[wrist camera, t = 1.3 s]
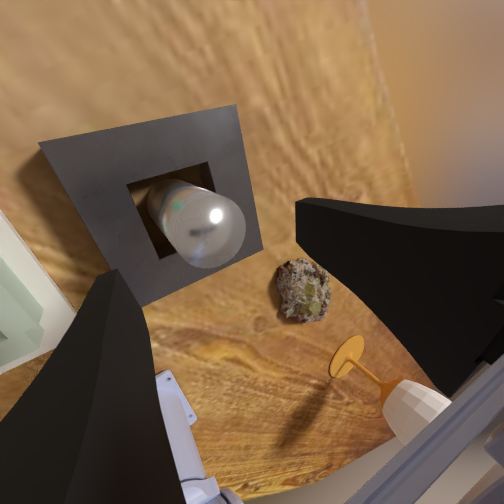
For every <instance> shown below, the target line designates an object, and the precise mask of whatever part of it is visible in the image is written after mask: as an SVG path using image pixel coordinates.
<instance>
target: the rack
mask: <svg viewBox="0 0 504 504" xmlns="http://www.w3.org/2000/svg"><path fill="white" fill-rule="evenodd" d="M76 314H77V312H76V311H75V309H74V308H73V307H72V305H71V304H70V303H69V301H68V300H67V299H66V297H65V296H64V295H63V293H62V292H61V290H60V289H59V288H58V286H57V285H56V284H55V282H54V281H53V280H52V278H51V277H50V276H49V274H48V273H47V272H46V270H45V269H44V268H43V266H42V265H41V263H40V262H39V261H38V259H37V258H36V257H35V255H34V254H33V253H32V251H31V250H30V249H29V247H28V246H27V245H26V243H25V242H24V241H23V239H22V238H21V236H20V235H19V234H18V232H17V231H16V230H15V228H14V227H13V226H12V224H11V223H10V222H9V220H8V219H7V218H6V216H5V215H4V214H3V212H2V211H1V209H0V374H2V373H4V372H6V371H8V370H10V369H13V368H15V367H17V366H19V365H21V364H23V363H25V362H27V361H29V360H31V359H34V358H36V357H38V356H40V355H42V354H44V353H46V352H48V351H50V350H53V349H55V348H56V347H57V345H58V344H59V342H60V341H61V339H62V337H63V336H64V334H65V333H66V331H67V330H68V328H69V326H70V325H71V323H72V321H73V320H74V318H75V316H76Z"/></svg>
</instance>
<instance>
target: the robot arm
mask: <svg viewBox="0 0 504 504" xmlns="http://www.w3.org/2000/svg"><path fill="white" fill-rule="evenodd" d="M295 215H296V242H297V243H298V245H299V246H300V247H301V248H302V249H303V250H304V251H305V252H306V253H307V254H308V256H309V257H311V258H312V259H313V260H314V261H315V262H316V263H318V264H319V265H320V266H321V267H323V268H324V269H325V270H326V271H328V272H329V273H330V274H331V275H333V276H334V277H335V278H336V279H338V280H339V281H340V282H341V283H343V284H344V285H345V286H346V287H347V288H349V289H350V290H351V291H352V292H353V293H354V294H355V295H357V296H358V297H359V298H360V299H361V300H362V301H363V302H364V303H365V304H366V305H367V306H368V307H369V308H370V309H371V310H372V311H373V312H374V314H375V315H376V316H377V317H378V318H379V319H380V320H381V321H382V322H383V323H384V324H385V325H386V326H387V327H388V329H389V330H390V331H391V332H392V333H393V334H394V335H395V337H396V338H397V339H398V340H399V341H400V342H401V344H402V345H403V346H404V347H405V348H406V349H407V350H408V352H409V353H410V354H411V356H412V357H413V358H414V359H415V361H416V362H417V363H418V364H419V366H420V367H421V368H422V369H423V371H424V372H425V373H426V374H427V376H428V377H429V378H430V380H431V381H432V383H433V384H434V385H435V386H436V387H437V388H438V389H439V390H440V391H441V392H442V393H444V394H445V395H446V396H447V397H449V398H450V397H452V396H453V395H454V394H455V393H456V392H457V391H458V390H459V389H460V388H461V387H462V386H463V385H464V384H466V382H468V381H469V380H470V379H471V378H472V377H473V376H474V375H475V374H476V373H478V372H479V371H480V370H481V369H482V368H483V367H484V366H485V365H486V364H487V363H489V364H490V365H491V366H490V367H489V368H488V369H487V370H486V371H485V372H484V373H483V374H482V375H481V376H480V377H478V378H477V379H476V380H475V381H474V382H473V383H472V384H471V385H470V386H469V387H468V388H467V389H466V390H465V391H464V392H463V393H461V394H460V395H459V396H458V397H457V398H456V399H455V400H454V401H453V402H452V403H451V404H450V405H449V406H448V407H446V408H445V409H444V410H443V411H442V412H441V413H440V414H439V415H438V416H437V417H436V418H435V419H434V420H433V421H432V422H430V423H429V424H428V425H427V426H426V427H425V428H424V429H423V430H422V431H421V432H420V433H419V434H418V435H417V436H416V437H414V438H413V439H412V440H411V441H410V442H409V443H408V444H407V445H406V446H405V447H404V448H403V449H402V450H401V451H400V452H398V454H396V455H395V456H394V457H393V458H392V459H391V460H390V461H389V462H388V463H387V464H386V465H385V466H384V467H383V468H381V470H379V471H378V472H377V473H376V474H375V475H374V476H373V477H372V478H371V479H370V480H369V481H368V482H367V483H366V484H364V485H363V486H362V487H361V488H360V489H359V490H358V491H357V492H356V493H355V494H354V495H353V496H352V497H350V498H349V499H348V500H347V501H346V502H345V503H344V504H414V503H415V502H416V501H417V500H418V499H419V498H420V497H421V496H422V495H423V494H424V493H425V492H426V490H427V489H428V488H429V487H430V486H431V485H432V484H433V483H434V482H435V481H436V480H437V479H438V478H439V477H440V475H441V474H442V473H443V472H444V471H445V470H446V469H447V468H448V467H449V466H450V465H451V464H452V463H453V461H454V460H455V459H456V458H457V457H458V456H459V455H460V454H461V453H462V452H463V451H464V450H465V449H466V447H468V445H469V444H470V443H471V442H472V441H473V440H474V439H475V438H476V437H477V436H478V435H479V434H480V433H481V432H482V431H483V429H484V428H485V427H486V426H487V425H488V424H489V423H490V422H491V421H492V420H493V419H494V418H495V417H496V416H497V414H498V413H499V412H500V411H501V410H502V409H503V408H504V205H495V206H482V207H467V208H466V207H465V208H405V207H390V206H379V205H370V204H362V203H354V202H347V201H339V200H332V199H323V198H304V199H302V200H299V201H296V202H295ZM167 378H168V379H167ZM196 420H197V417H196V415H195V413H194V411H193V409H192V408H191V406H190V404H189V403H188V401H187V399H186V397H185V396H184V394H183V392H182V390H181V389H180V387H179V385H178V383H177V382H176V380H175V378H174V376H173V375H172V373H171V371H170V370H165V371H163V372H161V373H160V374H158V375H156V376H155V370H154V363H153V356H152V349H151V343H150V336H149V331H148V328H147V324H146V321H145V317H144V314H143V311H142V308H141V307H140V305H139V303H138V302H137V300H136V298H135V297H134V295H133V293H132V292H131V290H130V288H129V287H128V285H127V283H126V282H125V280H124V278H123V277H122V275H121V273H120V272H119V270H118V268H117V269H115V270H112V271H109V272H107V273H104V274H101V275H99V276H97V278H96V280H95V281H94V283H93V285H92V287H91V289H90V291H89V293H88V294H87V296H86V298H85V300H84V302H83V304H82V305H81V307H80V309H79V311H78V313H77V314H76V316H75V318H74V320H73V321H72V323H71V325H70V326H69V328H68V330H67V331H66V333H65V334H64V336H63V337H62V339H61V341H60V342H59V344H58V345H57V347H56V348H55V350H54V352H53V353H52V355H51V356H50V358H49V359H48V361H47V362H46V364H45V365H44V366H43V368H42V369H41V371H40V372H39V373H38V375H37V376H36V378H35V379H34V380H33V382H32V383H31V384H30V386H29V387H28V388H27V389H26V391H25V392H24V393H23V395H22V396H21V397H20V399H19V400H18V401H17V403H16V404H15V405H14V406H13V408H12V409H11V410H10V411H9V413H8V414H7V415H6V416H5V417H4V419H3V420H2V421H1V422H0V504H244V503H243V502H242V500H241V499H240V498H239V497H238V496H237V495H236V494H235V493H233V491H231V490H230V489H229V488H227V487H225V488H222V489H220V490H219V488H218V485H217V482H216V479H215V476H212V477H210V478H208V479H207V477H206V474H205V471H204V468H203V465H202V462H201V459H200V456H199V453H198V450H197V447H196V444H195V441H194V438H193V435H192V432H191V429H190V425H192V424H193V423H194V422H195V421H196ZM484 449H485V451H486V452H487V453H488V454H489V455H490V456H491V457H493V458H494V459H495V460H496V461H497V463H496V464H495V465H494V466H493V467H492V468H491V469H490V470H489V471H488V472H487V473H486V474H485V475H484V476H483V477H482V478H481V479H480V480H479V481H478V482H477V483H476V484H475V485H474V487H472V489H471V490H470V491H469V492H468V493H467V494H466V495H465V496H464V497H463V498H462V499H461V500H460V501H459V502H458V503H457V504H504V422H503V423H501V424H500V425H499V426H498V427H497V428H496V429H495V430H494V431H493V432H492V434H491V435H490V437H489V438H488V440H487V442H486V443H485V445H484Z"/></svg>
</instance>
